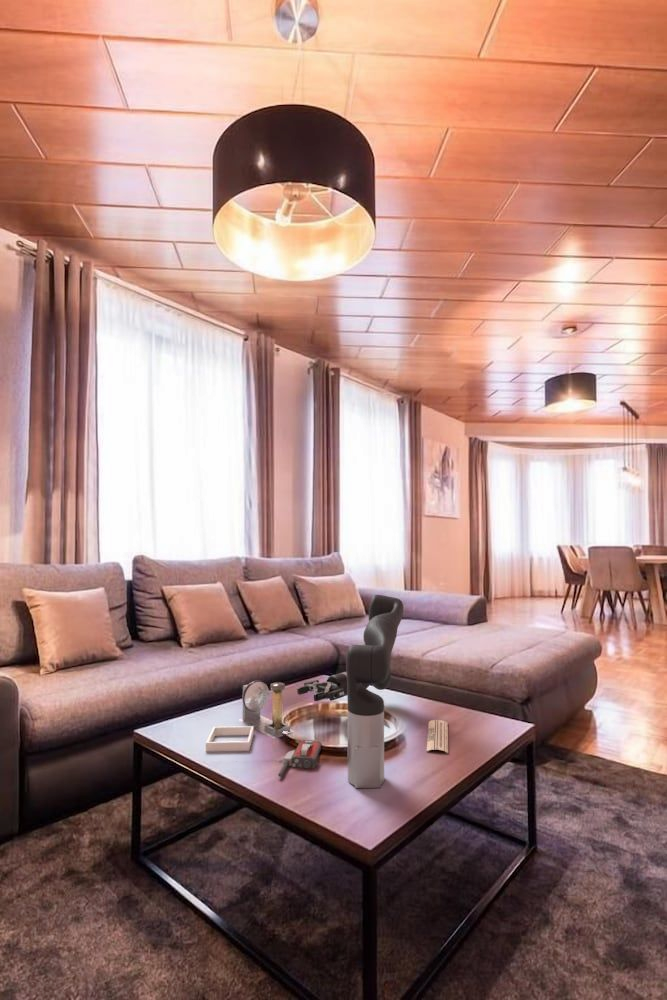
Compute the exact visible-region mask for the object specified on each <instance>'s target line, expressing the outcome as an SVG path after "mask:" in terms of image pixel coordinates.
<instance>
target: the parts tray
mask: <svg viewBox="0 0 667 1000" xmlns="http://www.w3.org/2000/svg"><path fill="white" fill-rule="evenodd" d="M254 731H255V728H254V726H249V725H247V726H246V725H245V726H244V725H243V726H242V725H239V726H213V727H212V729H211V732H210V733H209V736H208V738H207V740H206V742H205V752H249V751H250V749H251V745H252V741H253V738H254V734H255V732H254ZM216 736H218V737H219V736H248V737H247V741H246V740H244V741H243V740H242V741H241V740H240V741H236V740H235V741H214V739H215V737H216Z"/></svg>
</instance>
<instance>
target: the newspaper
mask: <svg viewBox="0 0 667 1000" xmlns="http://www.w3.org/2000/svg"><path fill="white" fill-rule="evenodd" d="M448 723H449V722H447V721H444V720H441V719H440V720H439V719H432V720H430V721H429V720H428V727H427V728H428V731H427V742H426V752H427V753H429V752H430V751H432V750H433V751H434V750H435V751H436V750H439V751H442V752H445V754H448V753H449V726H448Z"/></svg>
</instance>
